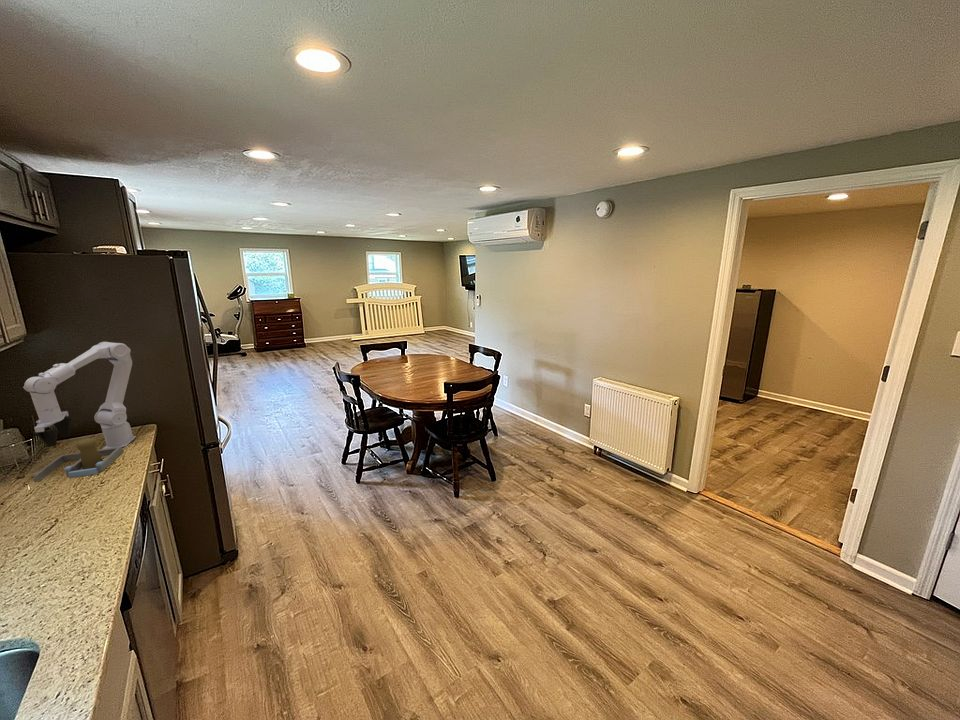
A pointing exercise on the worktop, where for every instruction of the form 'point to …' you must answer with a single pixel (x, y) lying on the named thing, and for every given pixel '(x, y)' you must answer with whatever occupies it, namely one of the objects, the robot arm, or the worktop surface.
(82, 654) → the worktop surface
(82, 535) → the worktop surface
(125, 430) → the robot arm
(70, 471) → the blue open frame
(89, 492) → the worktop surface
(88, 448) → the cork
